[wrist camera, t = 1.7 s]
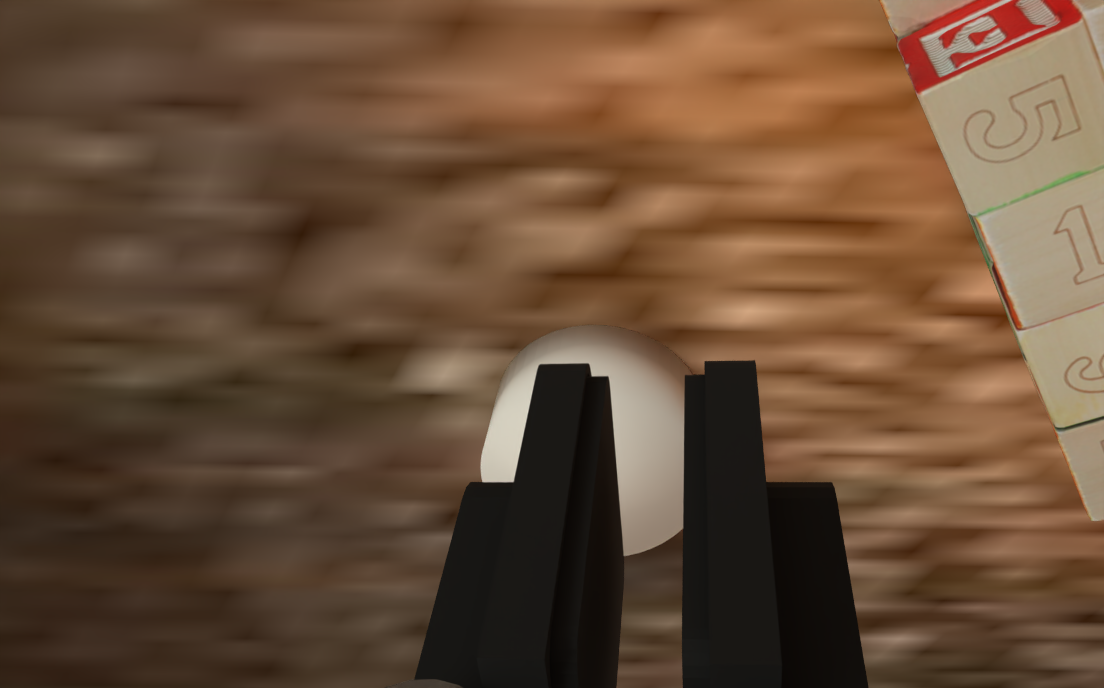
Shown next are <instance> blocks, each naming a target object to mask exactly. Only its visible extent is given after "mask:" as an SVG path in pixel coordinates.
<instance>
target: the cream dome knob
mask: <svg viewBox="0 0 1104 688" xmlns="http://www.w3.org/2000/svg"><path fill="white" fill-rule="evenodd" d="M570 363H589V365H590V369H591V375H592V376H608V377H609V381H610V391H611V403H612V416H613V428H614V440H615V453H616V465H617V477H618V489H619V502H620V514H621V526H622V539H623V551H624V556H628V555H632V554H636V553H640V552H643V551H646V550H649V549H652V548H654V547H656V546H658V545H660V544H662V543H664V542H665V541H667V540H669V539H670V538H672V537H673V536H675V535H676V534H677V533H678V532H679V531H680V530H682V529H683V492H684V389H685V375H692V373H691V371H690V370H689V368H688V367H687V366H686V365H685V364H684V362H683V361H682V360H681V359H680V358H679V357H678V356H677V355H676V354H674V353H673V352H672V351H671V350H670V349H668V348H667V347H665V346H664V345H662V344H661V343H659V342H658V341H656V340H654V339H652V338H650V337H648V336H646V335H643V334H640V333H638V332H635V331H632V330H628V329H624V328H620V327H614V326H607V325H583V326H575V327H570V328H564V329H561V330H558V331H555V332H552V333H549V334H547V335H545V336H543V337H540V338H539V339H537V340H535V341H534V342H532V343H531V344H529V345H528V346H526V347H525V348H524V349H523V350H522V351H520V352H519V353H518V354H517V356H516V357H515V358H514V359H513V360H512V361H511V363H510V364H509V366H508V367H507V369H506V370H505V372H504V375H503V377H502V379H501V382H500V386H499V390H498V394H497V397H496V401H495V405H494V409H493V413H492V417H491V421H490V425H489V429H488V433H487V436H486V440H485V444H484V448H483V452H482V456H481V476H482V481H483V482H514V477H515V472H516V468H517V463H518V458H519V453H520V449H521V444H522V439H523V434H524V430H525V425H526V420H527V415H528V410H529V406H530V401H531V396H532V391H533V387H534V382H535V377H536V372H537V369H538V366H539V365H540V364H570Z"/></svg>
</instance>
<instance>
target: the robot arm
mask: <svg viewBox="0 0 1104 688" xmlns="http://www.w3.org/2000/svg"><path fill="white" fill-rule="evenodd" d="M623 587H624V551H623V539H622V526H621V514H620V502H619V489H618V477H617V465H616V453H615V440H614V428H613V416H612V403H611V391H610V381H609V377H608V376H592V375H591V369H590V365H589V363H570V364H540V365H539V366H538V369H537V372H536V377H535V382H534V387H533V391H532V396H531V401H530V406H529V410H528V415H527V420H526V425H525V430H524V434H523V439H522V444H521V449H520V453H519V458H518V463H517V468H516V472H515V477H514V482H470V483H469V485H468V486H467V487H466V490H465V492H464V495H463V498H462V502H461V506H460V509H459V513H458V517H457V521H456V525H455V528H454V532H453V536H452V540H451V543H450V547H449V551H448V555H447V559H446V562H445V566H444V570H443V574H442V577H441V581H440V585H439V589H438V592H437V596H436V600H435V604H434V608H433V611H432V615H431V619H430V623H429V626H428V630H427V634H426V638H425V642H424V645H423V649H422V653H421V657H420V660H419V664H418V668H417V672H416V675H415V679H414V680H409V681H405V682H402V683H398V684H395V685H391V686H388V687H385V688H616V685H617V671H618V657H619V643H620V629H621V615H622V601H623ZM682 669H683V688H868V682H867V676H866V671H865V665H864V659H863V653H862V647H861V641H860V635H859V629H858V623H857V617H856V611H855V605H854V599H853V593H852V587H851V581H850V575H849V569H848V563H847V557H846V551H845V545H844V539H843V533H842V527H841V521H840V515H839V509H838V503H837V498H836V493H835V488H834V486H833V484H832V482H766V475H765V464H764V452H763V441H762V430H761V418H760V407H759V395H758V384H757V373H756V363H755V361H705V375H685V389H684V492H683V596H682Z"/></svg>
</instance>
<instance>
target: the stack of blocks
mask: <svg viewBox="0 0 1104 688" xmlns="http://www.w3.org/2000/svg"><path fill="white" fill-rule="evenodd" d="M879 1H880V3H881V5H882V8H883V10H884V12H885V15H886V17H887V19H888V22H889V24H890V26H891V29H892V31H893V32H894V35H895V37H896V40H897V47H898V49H899V52H900V54H901V56H902V59H903V61H904V64H905V67H906V70H907V72H908V74H909V77H910V79H911V82H912V84H913V87H914V89H915V92H916V95H917V97H918V99H919V102H920V104H921V106H922V108H923V111H924V113H925V115H926V118H927V120H928V122H929V124H930V127H931V129H932V131H933V134H934V136H935V138H936V140H937V143H938V145H939V147H940V150H941V152H942V154H943V157H944V159H945V161H946V163H947V166H948V168H949V170H950V173H951V175H952V177H953V180H954V182H955V184H956V187H957V189H958V191H959V193H960V196H961V198H962V200H963V203H964V206H965V209H966V211H967V214H968V217H969V219H970V222H971V225H972V227H973V230H974V232H975V235H976V238H977V240H978V243H979V245H980V248H981V250H982V253H983V255H984V258H985V261H986V263H987V266H988V268H989V271H990V273H991V276H992V278H993V281H994V283H995V286H996V288H997V291H998V294H999V296H1000V299H1001V301H1002V304H1003V306H1004V309H1005V311H1006V314H1007V317H1008V319H1009V322H1010V325H1011V327H1012V330H1013V333H1014V335H1015V338H1016V340H1017V343H1018V345H1019V348H1020V350H1021V353H1022V355H1023V358H1024V360H1025V363H1026V365H1027V368H1028V370H1029V373H1030V375H1031V378H1032V380H1033V382H1034V385H1035V387H1036V389H1037V392H1038V394H1039V396H1040V398H1041V401H1042V403H1043V405H1044V408H1045V410H1046V412H1047V415H1048V417H1049V419H1050V422H1051V424H1052V426H1053V429H1054V431H1055V434H1056V437H1057V439H1058V442H1059V445H1060V447H1061V449H1062V452H1063V454H1064V457H1065V459H1066V462H1067V464H1068V467H1069V469H1070V472H1071V475H1072V477H1073V480H1074V482H1075V485H1076V487H1077V490H1078V493H1079V495H1080V498H1081V500H1082V503H1083V505H1084V507H1085V510H1086V512H1087V515H1088V516H1089V518H1090V519H1091V521H1101V520H1104V0H879Z"/></svg>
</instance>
